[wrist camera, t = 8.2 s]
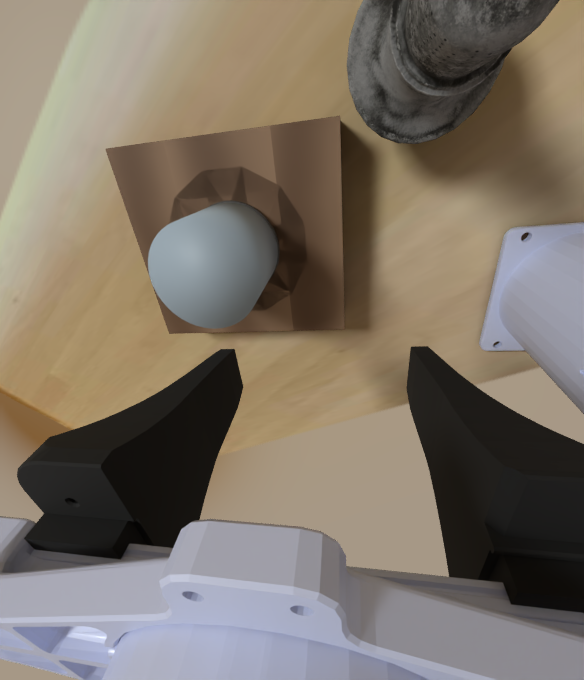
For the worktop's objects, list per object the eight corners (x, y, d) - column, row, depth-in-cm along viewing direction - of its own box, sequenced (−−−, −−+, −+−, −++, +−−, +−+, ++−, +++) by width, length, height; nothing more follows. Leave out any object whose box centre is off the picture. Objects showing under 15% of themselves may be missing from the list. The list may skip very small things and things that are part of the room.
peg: (281, 190, 18) (249, 211, 12) (290, 275, 21) (267, 328, 14) (199, 198, 19) (129, 222, 13) (217, 279, 22) (167, 330, 15)
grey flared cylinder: (421, 166, 17) (546, 190, 7) (324, 111, 16) (295, 41, 6) (506, 28, 14) (982, -329, 4) (390, -48, 13) (564, -751, 3)
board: (340, 120, 16) (340, 115, 14) (344, 311, 22) (344, 329, 20) (132, 149, 18) (105, 148, 16) (184, 317, 24) (169, 333, 22)
